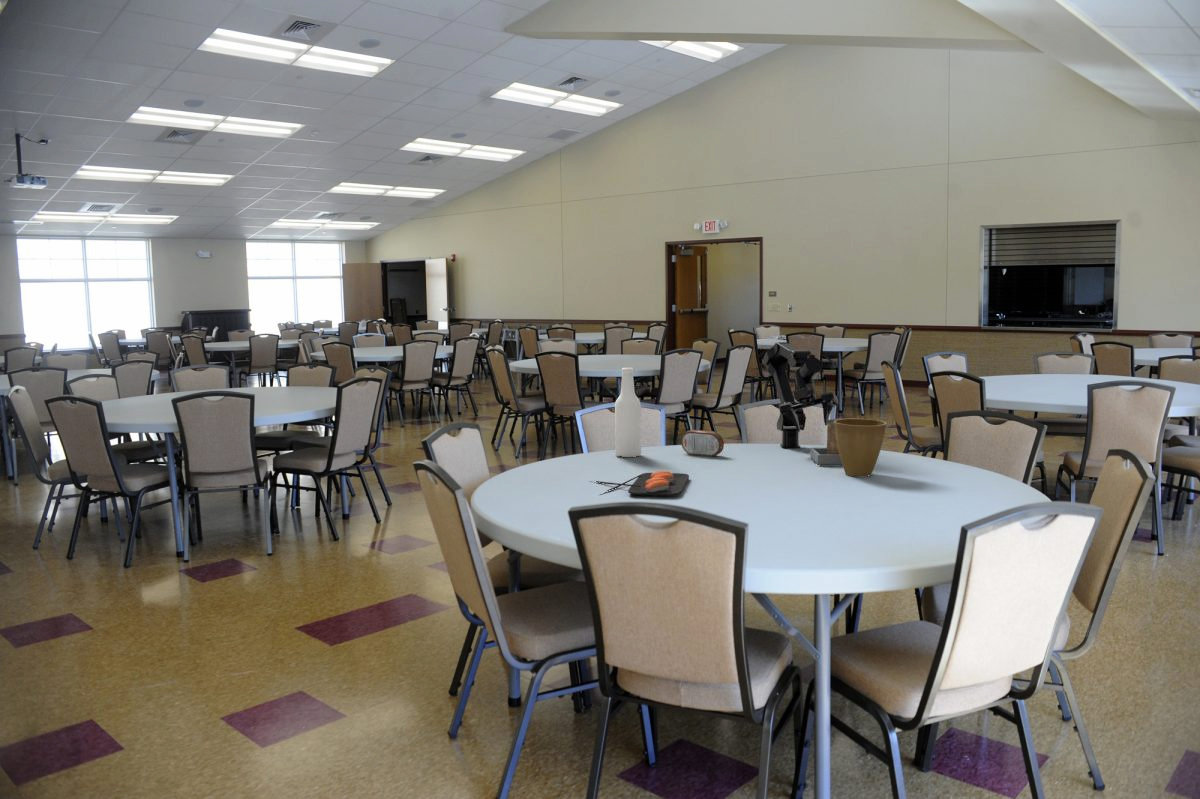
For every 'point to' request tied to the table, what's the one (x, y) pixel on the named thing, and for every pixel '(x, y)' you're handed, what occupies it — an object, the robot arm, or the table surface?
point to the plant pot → (859, 444)
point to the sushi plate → (656, 484)
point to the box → (824, 457)
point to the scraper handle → (831, 438)
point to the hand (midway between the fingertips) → (812, 428)
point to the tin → (702, 443)
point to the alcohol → (627, 418)
